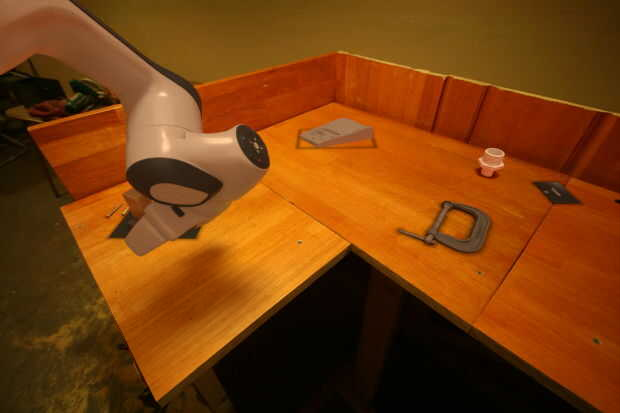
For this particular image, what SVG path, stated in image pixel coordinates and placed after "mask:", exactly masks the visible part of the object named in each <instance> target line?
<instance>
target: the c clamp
mask: <svg viewBox="0 0 620 413" xmlns="http://www.w3.org/2000/svg"><path fill="white" fill-rule="evenodd" d="M441 206H442V208H441V211H440V212H439V215H438V217H437V218H436V219H435V222H434V223H433V225H432V227H430V228H428V230H427V232H426V234H425V237H423V236H420V235H417V234H414V233H411V232H407V231H405V230H403V229H399V230H398V233H400V234H403V235H406V236H409V237H411V238H415V239H417V240H421V241H424V244H426V245H434V244H436V241H437V242H439V243H440V244H442V245H444V246H446V247H448V248H450V249H453V250H455V251H457V252H460V253H465V254H472V253H476V252H478V251H480V250H481V248H482V247H483V244H484V241H485V238H486V236H487V233H488V230H489V227H490V225H491V220H490V218H489V216H488V215H487V214H486V213H485V212H484V211H483V210H481V209H480V208H477V207H474V206H473V205H472V206H471V205H468V204H464V203H460V202H452V201H451V200H448V199H447V200H443V201H442V203H441ZM453 209H454V210H458V211H460V212H464V213H467V214H469V215H471V216H472V217H473V218H474V219H475V221H474V224H473V226H472V229H471V231H470V234H469V236H468V238H467V239H460V238H457V237H455V236H452V235H450V234H447V233H445V232H440V231H438V230H439V228H440V226H441V224H443V223H442V222H443V221H444V220H445V217H446V215H447V213H448V211H452V210H453Z"/></svg>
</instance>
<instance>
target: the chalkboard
mask: <svg viewBox="0 0 620 413" xmlns="http://www.w3.org/2000/svg"><path fill="white" fill-rule="evenodd" d="M133 218H134V217H133V215H132V213H131V211H130V210H129V211H128V212H127V213H126V215H125V216H124V217H123V218H122V220H121V221H120V222H119V224H118V225H117V226H115V229H113V231H112V232H111V234H110V235H109V236H108V238H109V239H125V238H126V236H127V235H128V233H129V232H130V231H131V230H130V229H129V227H128V225H127V222H128V221H130V220H131V219H133ZM201 228H202V226H200V227H197V228H195V229H193V230H191V231H189V232H188V233H186V234H184V235H183V236H181V237H180V238H178V240H179V239H183V240H184V239H187V240H188V239H189V240H190V239H191V240H192V239H193V240H194V239H196V238H197V237H198V235H199V232H200V230H201Z"/></svg>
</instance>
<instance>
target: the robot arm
mask: <svg viewBox="0 0 620 413" xmlns="http://www.w3.org/2000/svg"><path fill="white" fill-rule="evenodd" d="M33 55H44V56H47V57H50V58H53V59H55V60H57V61H59V62H61V63H63V64H65V65H66V66H68V67H70V68H71V69H73V70H75V71H76V72H78V73H80V74H81V75H83V76H85V77H86V78H88V79H90V80H92V81H93V82H95V83H97V84H98V85H100V86H101V87H103V88H105V89H107V90H108V91H110V92H111V93H113V94H114V95H115V96H116V97H117V99H118V100H119V102H120V104H121V106H122V109H123V111H124V116H125V179H126V181H127V183H128V184H129V185H130V186H131V188H134V189H135V190H136V191H137V192H139V193H140V194H142V195H143V196H145V197H147V198H149V199H151V200H152V202H151V203H150V204H149V205H148V206H147V207H146V208H145V209H144V212H145V215H144V216H143V217H142V218H141V219H140V220H139V221H138V222H137V223H136V224H135V226H134V227H133V228H132V229H131V231H130V232H129V233H128V235H127V236H126V238H124V242H125V245H126V246H127V247H128V249H129V250H130V251H132V253H133V254H135V255H136V256H138V257H144V256H146V255H148V254H149V253H151V252H153V251H155V250H156V249H158V248H159V247H161V246H162V245H164V244H166V243H168V242H169V241H170V242H175V241H176V240H177V239H178V238H180V237H181V236H183V235H184V234H186V233H188V232H189V231H191V230H193V229H195V228H197V227H200V226H201V227H203V226H204V225H208V224H209V223H211V222H213V221H214V220H216V219H217V218H218V217H219V216H221V215H222V214H224V212H225V211H227V210H228V209H229V208H230V207H231V206H232V204H233V203H234V202H237V201H238V200H240V199H242V198H243V197H244V196H246V195H247V194H249V193H250V192H251V191H252V190H253V189H254V188H255V187H256V186H257V185H258V184H259V183H260V182H261V181H262V180H263V179H264V178H265V176H266V175H267V173H268V171H269V170H270V167H271V159H270V154H269V150H268V148H267V145H266V142H264V140H263V139H262V137H261V136H260V135H259V133H257V131H255V130H254V129H253V128H252V127H250V126H248V125H247V124H244V123H243V124H242V123H240V124H237V125H234V126H233V127H231V128H229V129H228V130H224V131H220V132H211V133H209V132H208V133H204V128H203V103H202V98H201V95H200V93H199V91H198V90H197V89H196V88H197V87H195V86H194V85H193V84H192V83H191V82H190V81H188V80H187V79H186V78H184V77H182V76H181V75H179V74H177V73H175V71H172V70H170V69H168V68H166V67H164V66H162V65H160V64H159V63H157V62H156V61H153V60H151V59H150V58H149V57H148V56H147V55H145V54H143V53H142V51H140V50H138V49H137V48H136V47H135V46H134V45H133V44H132V43H130V42H129V41H128V40H126V39H125V38H124V37H123V36H121V35H120V34H119V33H118V32H117V31H115V30H114V29H113V28H111V27H110V26H109V25H108V24H106V23H105V22H104V21H103V20H102V19H100V18H99V17H98V16H97V15H95V14H94V13H93V12H92V11H91V10H89V9H88V8H87V7H85V5H83V4H82V3H81V2H79V1H78V0H0V76H1V75H3V74H5V73H7V72H9V71H11V70H12V69H14V68H16V67H17V66H19V65H21V64H22V63H23V62H25V61H26V60H28V59H29V58H31V57H32V56H33ZM178 240H179V239H178Z"/></svg>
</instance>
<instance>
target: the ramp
mask: <svg viewBox="0 0 620 413" xmlns="http://www.w3.org/2000/svg"><path fill="white" fill-rule="evenodd" d="M373 135H374V126H371V125H364V124H362V123H360V122H358V121H356V120H353V119H350V118H347V117H341V118H337V119H335V120H332V121H330V122H327V123H325V124H322V125H320V126H317V127H315V128H311V129H310V130H307V131H305V132H303V133H301V134H299V136H298V137H299V139H300V140H302V141H304V142H306V143H308V144H309V145H311V146H313V147H315V148H317V149H321V148H327V147H333V146H338V145H344V144H350V143H355V142H356V143H357V142H361V141H368V140H372V139H373V137H374V136H373Z"/></svg>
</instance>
